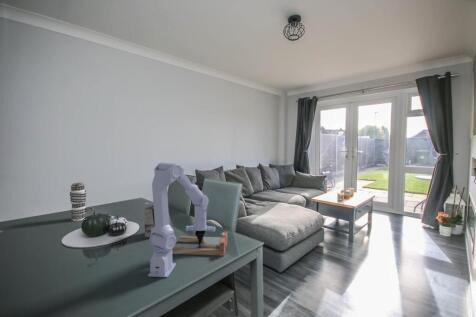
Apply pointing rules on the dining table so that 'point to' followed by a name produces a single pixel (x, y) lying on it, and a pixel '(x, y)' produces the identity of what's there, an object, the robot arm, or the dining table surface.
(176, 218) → the dining table surface
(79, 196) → the decorative candle
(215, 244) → the lock block
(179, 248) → the coupler track
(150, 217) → the coffee box
